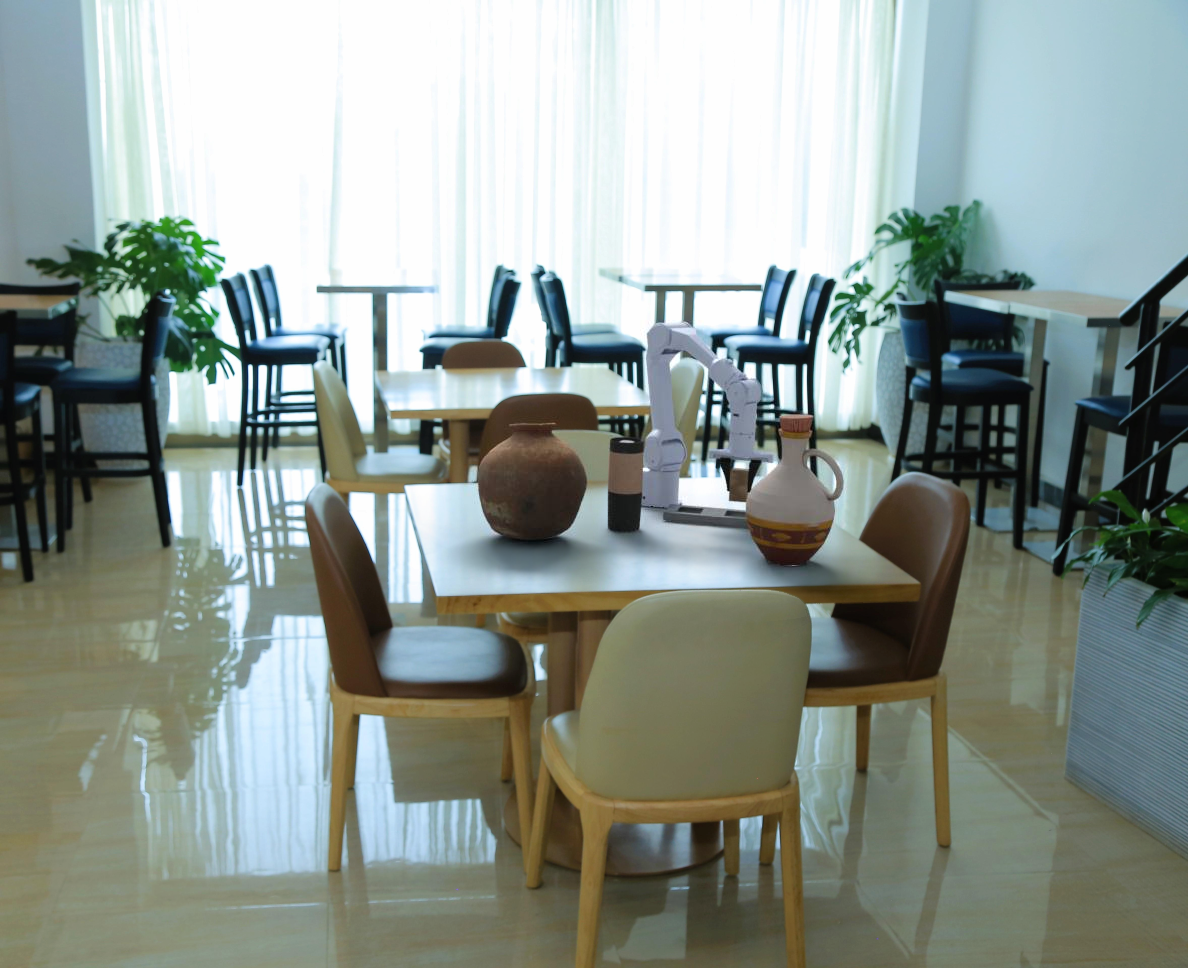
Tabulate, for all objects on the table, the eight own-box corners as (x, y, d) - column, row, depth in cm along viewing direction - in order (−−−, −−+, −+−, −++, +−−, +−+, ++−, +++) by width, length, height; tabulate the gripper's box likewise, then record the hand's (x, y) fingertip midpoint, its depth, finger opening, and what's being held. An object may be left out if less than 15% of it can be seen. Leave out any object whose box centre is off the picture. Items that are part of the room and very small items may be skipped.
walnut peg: (728, 501, 270) (730, 470, 269) (730, 497, 274) (732, 467, 273) (746, 502, 270) (748, 472, 268) (748, 498, 273) (750, 469, 272)
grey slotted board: (663, 520, 272) (663, 512, 272) (669, 512, 281) (670, 504, 281) (759, 529, 268) (759, 520, 267) (763, 520, 276) (763, 511, 276)
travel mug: (600, 529, 262) (603, 440, 258) (615, 522, 269) (619, 435, 265) (631, 534, 259) (635, 444, 255) (646, 527, 266) (650, 439, 262)
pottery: (538, 557, 238) (541, 434, 233) (454, 537, 251) (455, 420, 246) (606, 537, 256) (610, 422, 251) (524, 519, 269) (526, 410, 264)
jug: (851, 560, 244) (862, 415, 238) (821, 579, 229) (832, 426, 223) (762, 545, 254) (771, 405, 247) (728, 563, 239) (736, 415, 232)
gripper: (708, 433, 267) (705, 492, 269) (773, 437, 263) (769, 497, 266) (712, 428, 273) (709, 486, 276) (775, 432, 270) (772, 491, 273)
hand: (739, 491), depth 272 cm, fingers closed on walnut peg, 4 cm apart
